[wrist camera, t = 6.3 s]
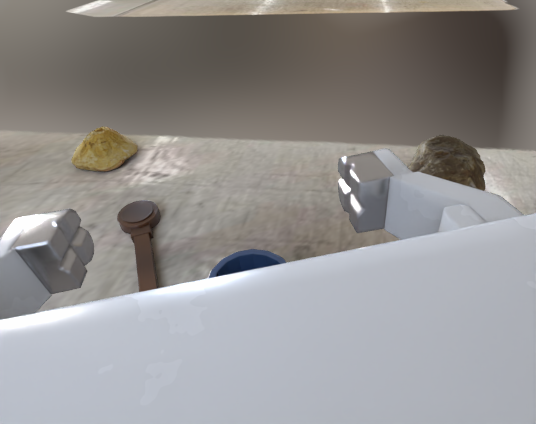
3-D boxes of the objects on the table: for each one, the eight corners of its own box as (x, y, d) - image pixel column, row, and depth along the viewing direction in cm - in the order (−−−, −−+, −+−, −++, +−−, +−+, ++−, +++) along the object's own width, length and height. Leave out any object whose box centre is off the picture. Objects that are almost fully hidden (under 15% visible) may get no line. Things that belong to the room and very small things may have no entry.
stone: (404, 148, 52) (452, 113, 46) (438, 181, 53) (489, 152, 47) (392, 198, 43) (450, 164, 37) (434, 236, 44) (496, 209, 39)
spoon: (180, 315, 34) (177, 306, 33) (127, 333, 33) (122, 325, 32) (158, 204, 48) (155, 195, 47) (119, 214, 46) (116, 205, 45)
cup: (269, 401, 27) (261, 340, 21) (210, 359, 30) (187, 293, 24) (307, 339, 31) (311, 271, 25) (252, 307, 34) (242, 238, 28)
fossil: (45, 133, 52) (93, 107, 59) (55, 163, 56) (99, 136, 63) (104, 160, 50) (147, 130, 57) (110, 189, 55) (149, 158, 62)
